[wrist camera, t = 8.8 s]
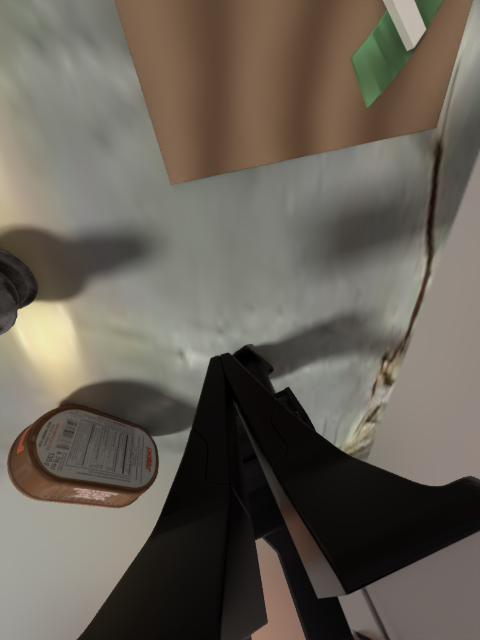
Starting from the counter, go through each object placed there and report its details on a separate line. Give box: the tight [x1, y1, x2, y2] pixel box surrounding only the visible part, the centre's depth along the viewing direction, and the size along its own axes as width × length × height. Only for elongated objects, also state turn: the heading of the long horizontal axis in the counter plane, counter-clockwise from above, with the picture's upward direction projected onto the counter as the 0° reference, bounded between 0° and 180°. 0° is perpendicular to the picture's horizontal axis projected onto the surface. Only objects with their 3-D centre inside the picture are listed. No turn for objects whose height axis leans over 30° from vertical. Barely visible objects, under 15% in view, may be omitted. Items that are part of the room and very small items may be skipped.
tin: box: [7, 405, 159, 508], centre depth 24 cm, size 15×3×8 cm, turn 36°
